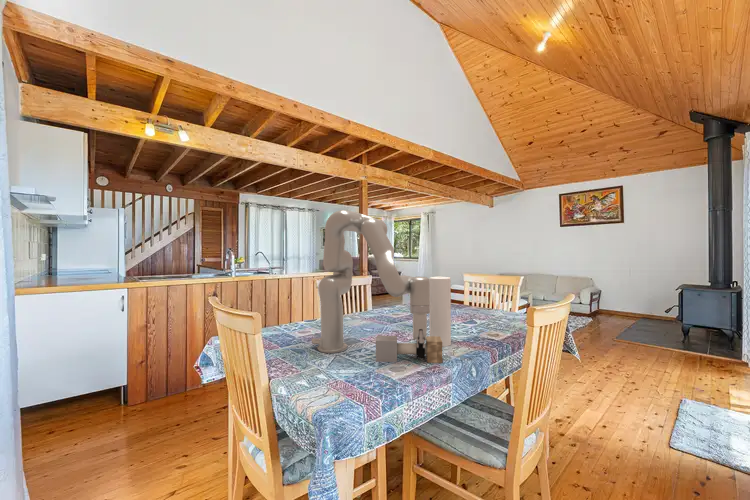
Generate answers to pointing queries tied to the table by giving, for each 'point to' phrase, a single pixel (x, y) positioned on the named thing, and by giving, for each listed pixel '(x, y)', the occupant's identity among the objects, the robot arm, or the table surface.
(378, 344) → the grey block
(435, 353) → the socket
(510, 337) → the table surface
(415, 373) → the table surface
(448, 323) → the cylinder container
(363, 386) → the table surface
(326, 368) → the table surface
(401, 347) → the tube
